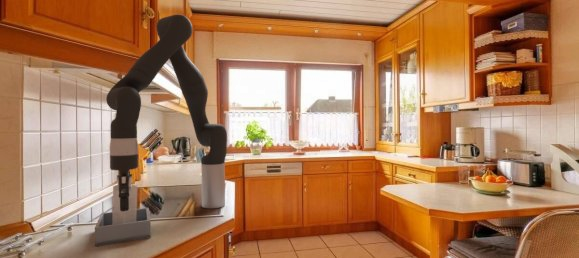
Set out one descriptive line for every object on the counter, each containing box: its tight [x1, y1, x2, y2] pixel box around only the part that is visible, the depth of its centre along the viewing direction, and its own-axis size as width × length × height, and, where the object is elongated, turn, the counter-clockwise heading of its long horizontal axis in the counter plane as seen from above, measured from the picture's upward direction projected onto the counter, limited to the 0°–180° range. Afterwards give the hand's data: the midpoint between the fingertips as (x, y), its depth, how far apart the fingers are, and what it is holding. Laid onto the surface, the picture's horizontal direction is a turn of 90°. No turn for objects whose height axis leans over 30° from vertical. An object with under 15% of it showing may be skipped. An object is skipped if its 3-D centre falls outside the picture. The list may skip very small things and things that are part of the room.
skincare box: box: [112, 184, 138, 225], centre depth 90 cm, size 6×4×12 cm
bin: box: [94, 207, 152, 247], centre depth 90 cm, size 16×14×5 cm
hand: (125, 207), depth 90 cm, fingers closed on skincare box, 7 cm apart
